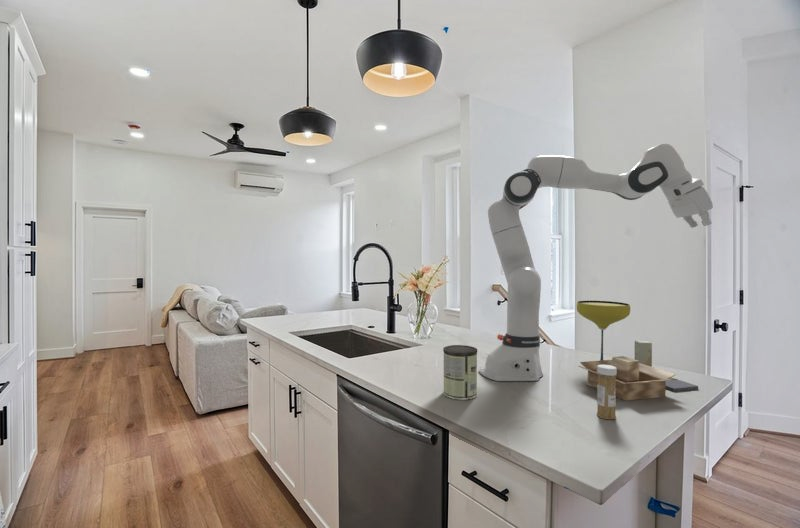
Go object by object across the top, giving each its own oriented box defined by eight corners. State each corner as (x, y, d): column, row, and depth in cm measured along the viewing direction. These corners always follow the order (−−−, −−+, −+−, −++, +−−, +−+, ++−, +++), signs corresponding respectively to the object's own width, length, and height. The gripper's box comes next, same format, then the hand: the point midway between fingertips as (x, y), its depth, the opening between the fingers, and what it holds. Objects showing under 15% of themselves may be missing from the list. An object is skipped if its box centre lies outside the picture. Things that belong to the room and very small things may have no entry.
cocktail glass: (616, 379, 137) (617, 307, 137) (566, 367, 151) (567, 302, 151) (637, 370, 149) (638, 303, 148) (589, 360, 163) (590, 299, 162)
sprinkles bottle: (617, 421, 102) (618, 369, 102) (598, 418, 103) (598, 367, 103) (613, 414, 106) (614, 364, 106) (595, 412, 108) (595, 363, 107)
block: (626, 393, 122) (627, 361, 122) (611, 387, 128) (612, 357, 128) (638, 392, 124) (639, 361, 123) (623, 386, 129) (623, 356, 129)
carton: (624, 406, 112) (625, 383, 112) (570, 381, 134) (570, 362, 134) (687, 399, 118) (687, 377, 118) (625, 376, 140) (625, 358, 140)
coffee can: (446, 387, 127) (447, 343, 127) (479, 391, 124) (479, 346, 124) (439, 397, 118) (439, 350, 117) (474, 402, 114) (474, 353, 114)
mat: (673, 391, 125) (673, 388, 125) (646, 381, 134) (646, 379, 134) (698, 389, 127) (698, 386, 127) (669, 379, 137) (669, 376, 137)
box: (652, 373, 144) (652, 343, 144) (639, 372, 145) (639, 342, 145) (646, 369, 150) (646, 340, 149) (633, 368, 151) (634, 339, 150)
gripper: (658, 197, 141) (678, 232, 140) (682, 188, 121) (705, 228, 120) (676, 189, 139) (696, 223, 138) (704, 178, 120) (727, 218, 118)
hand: (701, 225), depth 129 cm, fingers open, 8 cm apart
